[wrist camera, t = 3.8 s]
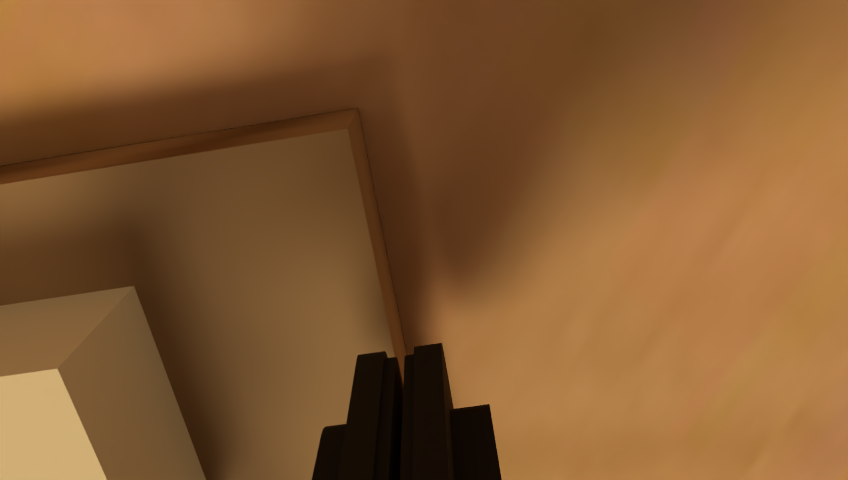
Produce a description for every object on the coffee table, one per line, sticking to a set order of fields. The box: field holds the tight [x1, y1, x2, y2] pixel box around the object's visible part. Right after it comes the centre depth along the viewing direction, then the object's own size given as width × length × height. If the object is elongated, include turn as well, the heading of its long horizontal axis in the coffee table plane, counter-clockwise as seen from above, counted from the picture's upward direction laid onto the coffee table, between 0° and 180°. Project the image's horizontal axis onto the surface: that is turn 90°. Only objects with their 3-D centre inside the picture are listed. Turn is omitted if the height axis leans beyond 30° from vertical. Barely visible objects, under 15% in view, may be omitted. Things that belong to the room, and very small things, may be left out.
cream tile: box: [0, 286, 206, 480], centre depth 13 cm, size 6×6×3 cm
